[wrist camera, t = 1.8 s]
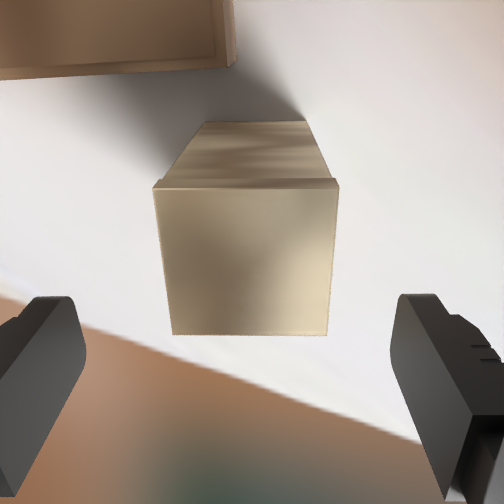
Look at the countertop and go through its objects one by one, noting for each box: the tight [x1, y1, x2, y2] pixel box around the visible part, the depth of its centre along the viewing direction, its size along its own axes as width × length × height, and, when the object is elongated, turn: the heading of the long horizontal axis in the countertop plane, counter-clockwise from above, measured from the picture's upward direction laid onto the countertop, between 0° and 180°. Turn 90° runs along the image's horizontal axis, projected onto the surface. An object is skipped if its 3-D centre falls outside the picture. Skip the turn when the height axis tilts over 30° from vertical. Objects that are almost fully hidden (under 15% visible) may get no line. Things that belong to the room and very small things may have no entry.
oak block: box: [152, 121, 339, 336], centre depth 17 cm, size 5×5×10 cm
